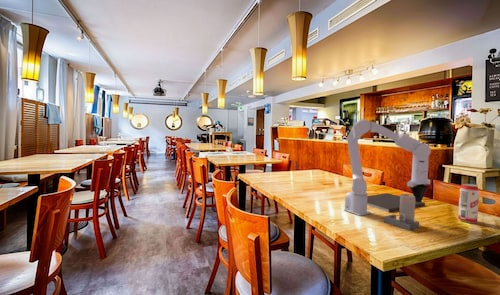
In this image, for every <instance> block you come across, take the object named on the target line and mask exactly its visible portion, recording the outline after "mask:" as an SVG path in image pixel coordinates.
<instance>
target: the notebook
mask: <svg viewBox="0 0 500 295" xmlns="http://www.w3.org/2000/svg"><path fill="white" fill-rule="evenodd" d="M400 196H401V195H397V194H392V193H387V192H386V193H380V194H372V195H367V207H371V208H375V209H377V210H381V211H383V212H388V213H393V212H399V210H400ZM425 206H426V202H424V201H422V202H416V201H415V208H419V207H420V208H421V207H425Z"/></svg>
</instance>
